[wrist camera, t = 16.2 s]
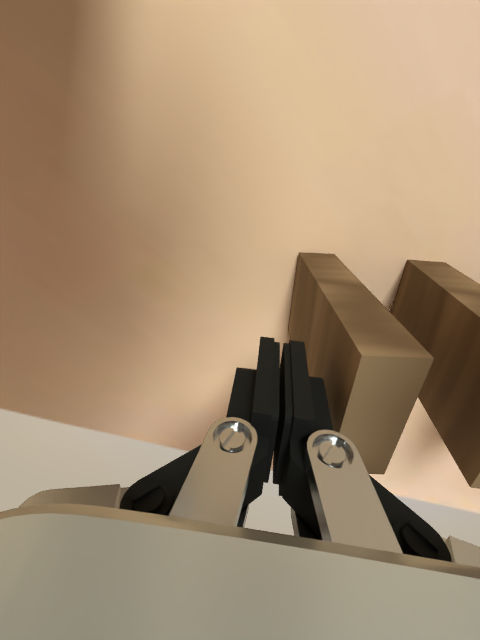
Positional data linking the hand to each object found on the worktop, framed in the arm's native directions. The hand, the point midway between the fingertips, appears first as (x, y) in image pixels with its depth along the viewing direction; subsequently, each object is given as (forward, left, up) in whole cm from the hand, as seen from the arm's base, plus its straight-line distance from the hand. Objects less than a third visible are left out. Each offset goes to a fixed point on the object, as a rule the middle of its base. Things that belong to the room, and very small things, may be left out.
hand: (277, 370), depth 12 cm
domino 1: (+2, 0, -8) cm, 8 cm away
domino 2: (+8, 0, -8) cm, 11 cm away
